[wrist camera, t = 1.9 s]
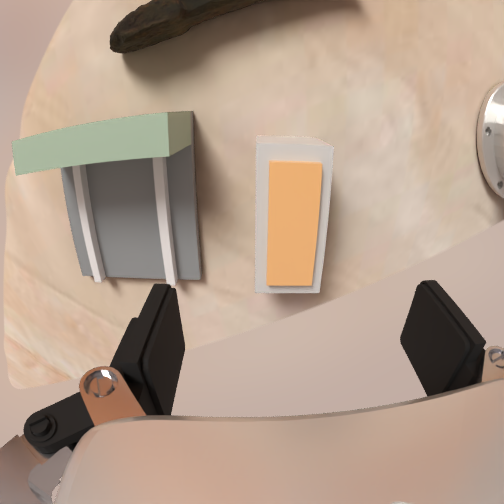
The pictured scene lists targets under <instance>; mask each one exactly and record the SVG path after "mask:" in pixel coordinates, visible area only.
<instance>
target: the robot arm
mask: <svg viewBox="0 0 504 504" xmlns="http://www.w3.org/2000/svg"><path fill="white" fill-rule="evenodd" d="M477 149H478V157H479V161H480V165H481V169H482V172H483V174H484V177H485V179H486V181H487V183H488V184H489V186H490V188H491V189H492V190H493V191H494V192H495V193H496V194H497V195H499V196H500V197H501V198H503V199H504V82H501V83H499V84H497V85H495V86H494V87H493V88H492V89H491V90H490V91H489V93H488V94H487V96H486V97H485V99H484V101H483V104H482V106H481V110H480V114H479V118H478V126H477ZM400 340H401V345H402V346H403V349H404V350H405V352H406V354H407V356H408V358H409V360H410V362H411V364H412V366H413V368H414V370H415V372H416V374H417V376H418V378H419V380H420V382H421V384H422V386H423V388H424V390H425V392H426V394H427V396H428V397H424V398H420V399H415V400H410V401H405V402H400V403H394V404H389V405H383V406H378V407H371V408H364V409H357V410H350V411H342V412H333V413H323V414H312V415H298V416H280V417H200V416H172V415H171V412H172V407H173V402H174V397H175V393H176V388H177V383H178V379H179V374H180V370H181V365H182V360H183V356H184V352H185V342H184V336H183V330H182V324H181V318H180V312H179V306H178V299H177V293H176V289H175V288H171V286H170V284H154V285H153V287H152V289H151V292H150V294H149V296H148V298H147V300H146V302H145V304H144V306H143V308H142V310H141V313H140V315H139V317H138V318H132V320H131V321H130V323H129V325H128V327H127V329H126V331H125V334H124V336H123V338H122V340H121V342H120V344H119V346H118V349H117V351H116V353H115V355H114V357H113V360H112V362H111V364H110V366H109V367H108V366H100V367H96V368H93V369H91V370H89V371H87V372H86V373H85V374H84V375H83V377H82V378H81V380H80V384H79V389H80V392H78V393H76V394H74V395H72V396H70V397H67V398H65V399H63V400H61V401H59V402H57V403H55V404H53V405H51V406H48V407H46V408H44V409H42V410H40V411H37V412H35V413H34V414H32V415H31V416H30V417H29V418H28V419H27V421H26V423H25V425H24V434H23V435H22V436H20V437H19V436H18V435H16V436H15V437H13V438H12V439H11V440H10V441H9V442H7V443H6V444H5V445H4V446H3V447H2V448H0V504H53V503H52V498H51V496H52V491H53V490H54V488H55V487H56V486H57V485H58V484H59V483H60V485H59V488H58V491H57V495H56V498H55V501H54V504H504V348H502V347H499V346H490V347H488V348H487V350H486V351H485V350H484V349H483V347H484V345H485V344H486V341H485V340H484V338H483V337H482V336H481V334H480V333H479V332H478V330H477V329H476V328H475V327H474V325H473V324H472V323H471V322H470V320H469V319H468V318H467V317H466V316H465V314H464V313H463V312H462V311H461V309H460V308H459V307H458V306H457V305H456V303H455V302H454V301H453V300H452V299H451V297H450V296H449V295H448V294H447V293H446V292H445V291H444V290H443V288H442V287H441V286H440V285H439V284H438V283H437V281H435V280H427V281H422V282H421V283H420V284H419V285H418V286H417V288H416V291H415V295H414V298H413V301H412V304H411V307H410V310H409V313H408V316H407V319H406V323H405V325H404V328H403V331H402V334H401V337H400ZM61 477H62V479H61V481H60V480H59V479H60V478H61Z"/></svg>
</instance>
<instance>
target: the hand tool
mask: <svg viewBox="0 0 504 504" xmlns="http://www.w3.org/2000/svg"><path fill="white" fill-rule="evenodd" d="M260 1H264V0H152V1H150V2H149V3H147V4H145V5H141V6H139V7H138V8H137V9H136V10H135V11H132V12H131V13H129V14H128V15H127V16H126V17H125V18H124V19H123V20H121V21H120V22H119V23H118V24H117V26H116V27H115V28H114V31H113V32H112V33H111V35H110V49H111V50H112V51H113V52H117V53H127V52H131V51H135V50H138V49H141V48H144V47H147V46H150V45H154V44H157V43H159V42H161V41H163V40H166V39H170V38H172V37H175V36H178V35H182V34H183V33H185V32H187V31H188V30H189V28H190V27H192V26H194V25H196V24H198V23H201V22H203V21H205V20H208V19H211V18H213V17H216V16H219V15H222V14H225V13H227V12H230V11H233V10H236V9H240V8H244V7H247V6H249V5H252V4H254V3H257V2H260Z"/></svg>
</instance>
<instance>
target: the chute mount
mask: <svg viewBox="0 0 504 504" xmlns="http://www.w3.org/2000/svg"><path fill="white" fill-rule="evenodd" d="M12 149H13V158H14V166H15V173H16V176H17V175H22V174H27V173H33V172H38V171H44V170H50V169H56V168H61V174H62V181H63V187H64V194H65V200H66V205H67V211H68V216H69V221H70V226H71V231H72V235H73V240H74V244H75V248H76V252H77V256H78V260H79V264H80V268H81V272H82V275H83V276H94V280H95V282H102V281H103V280H104V279H105V277H124V278H151V279H166V281H167V284H170V285H176V283H177V280H178V279H185V280H200V279H201V276H202V268H201V256H200V244H199V230H198V215H197V199H196V180H195V157H194V127H193V111H183V112H165V113H155V114H146V115H138V116H130V117H123V118H116V119H110V120H104V121H98V122H92V123H87V124H82V125H77V126H72V127H67V128H62V129H58V130H54V131H49V132H45V133H41V134H37V135H34V136H30V137H26V138H23V139H19V140H16V141H13V142H12Z"/></svg>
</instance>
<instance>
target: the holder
mask: <svg viewBox="0 0 504 504" xmlns="http://www.w3.org/2000/svg"><path fill="white" fill-rule="evenodd" d="M333 152H334V146H332V145H330V144H328V143H326V142H324V141H322V140H320V139H318V138H316V137H302V136H275V135H256V227H255V293H319V292H320V285H321V277H322V270H323V262H324V254H325V245H326V236H327V226H328V216H329V206H330V194H331V182H332V168H333Z"/></svg>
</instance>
